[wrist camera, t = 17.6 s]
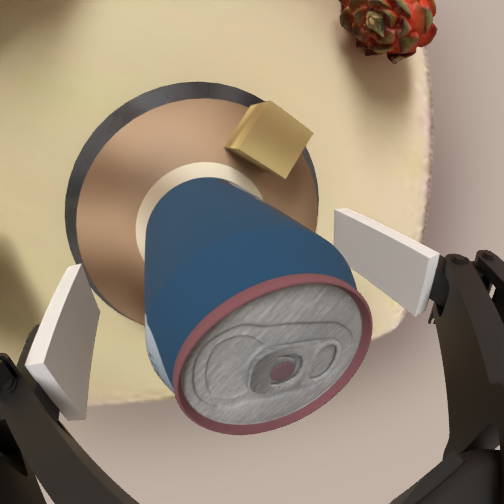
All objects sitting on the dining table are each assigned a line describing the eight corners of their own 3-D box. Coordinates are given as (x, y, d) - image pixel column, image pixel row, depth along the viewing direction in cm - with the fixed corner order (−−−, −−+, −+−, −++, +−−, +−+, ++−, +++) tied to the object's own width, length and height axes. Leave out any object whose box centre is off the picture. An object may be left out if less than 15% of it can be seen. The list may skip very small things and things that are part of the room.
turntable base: (112, 346, 21) (112, 351, 21) (46, 117, 13) (42, 117, 13) (314, 295, 26) (317, 298, 26) (307, 79, 18) (311, 78, 18)
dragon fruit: (321, 63, 19) (348, -8, 18) (415, 98, 18) (425, 19, 17) (321, -5, 11) (351, -65, 10) (452, 43, 10) (446, -32, 8)
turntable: (237, 340, 24) (256, 380, 20) (56, 274, 17) (35, 313, 12) (338, 179, 21) (381, 193, 17) (156, 61, 14) (158, 35, 10)
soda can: (145, 281, 17) (160, 454, 7) (149, 170, 15) (138, 250, 4) (247, 280, 20) (344, 417, 9) (263, 179, 17) (418, 253, 7)
